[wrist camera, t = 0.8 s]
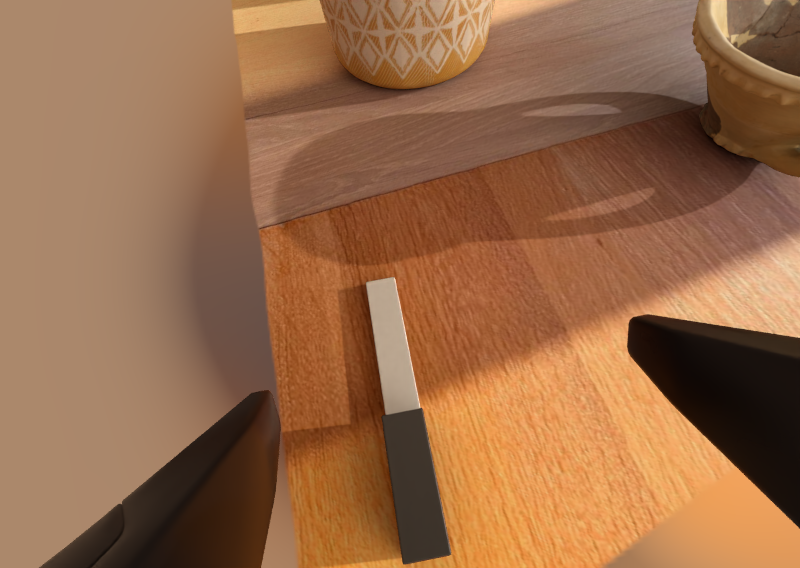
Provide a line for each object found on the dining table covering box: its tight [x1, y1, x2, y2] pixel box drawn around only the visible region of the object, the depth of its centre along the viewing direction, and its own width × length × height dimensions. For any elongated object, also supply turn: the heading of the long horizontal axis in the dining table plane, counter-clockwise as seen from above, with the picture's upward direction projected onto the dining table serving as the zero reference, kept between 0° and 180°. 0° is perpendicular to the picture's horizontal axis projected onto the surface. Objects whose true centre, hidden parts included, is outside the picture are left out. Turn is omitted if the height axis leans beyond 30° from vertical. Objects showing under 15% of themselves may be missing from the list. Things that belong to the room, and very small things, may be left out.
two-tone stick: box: [366, 277, 451, 565], centre depth 23 cm, size 17×2×2 cm, turn 10°
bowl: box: [692, 0, 800, 177], centre depth 29 cm, size 18×18×10 cm
